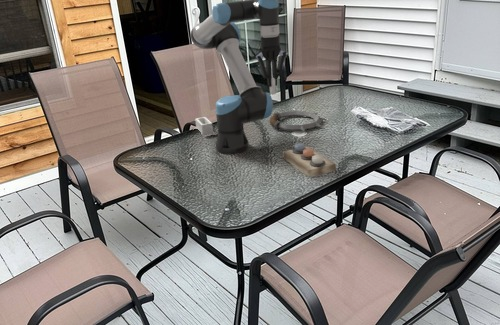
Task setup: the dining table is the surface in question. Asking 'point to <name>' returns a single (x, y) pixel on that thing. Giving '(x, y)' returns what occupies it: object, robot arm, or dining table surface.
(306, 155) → the button terracotta
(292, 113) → the spiked ring
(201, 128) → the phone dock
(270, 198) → the dining table surface
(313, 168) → the button panel
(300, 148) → the button slate
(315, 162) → the button cream
